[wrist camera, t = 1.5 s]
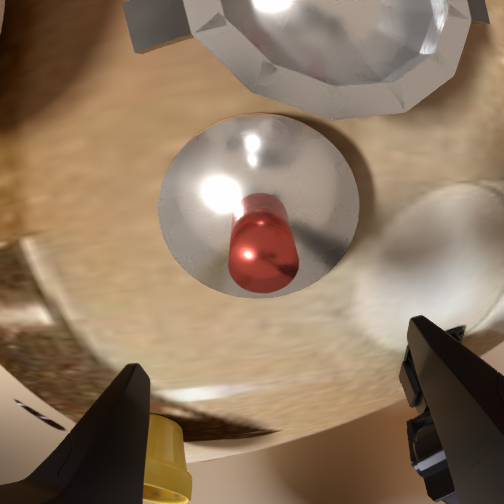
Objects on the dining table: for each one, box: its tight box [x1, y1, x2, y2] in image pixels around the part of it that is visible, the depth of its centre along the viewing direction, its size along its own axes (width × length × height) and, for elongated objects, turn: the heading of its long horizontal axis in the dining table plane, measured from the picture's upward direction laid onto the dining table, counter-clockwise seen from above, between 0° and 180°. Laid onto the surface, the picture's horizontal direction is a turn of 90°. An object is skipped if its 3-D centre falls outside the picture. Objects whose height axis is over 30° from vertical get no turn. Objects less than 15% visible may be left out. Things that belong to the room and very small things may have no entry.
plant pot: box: [143, 414, 192, 504], centre depth 29 cm, size 10×10×10 cm
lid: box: [158, 113, 359, 298], centre depth 16 cm, size 11×11×6 cm
